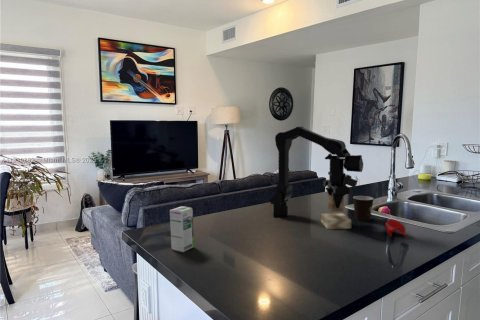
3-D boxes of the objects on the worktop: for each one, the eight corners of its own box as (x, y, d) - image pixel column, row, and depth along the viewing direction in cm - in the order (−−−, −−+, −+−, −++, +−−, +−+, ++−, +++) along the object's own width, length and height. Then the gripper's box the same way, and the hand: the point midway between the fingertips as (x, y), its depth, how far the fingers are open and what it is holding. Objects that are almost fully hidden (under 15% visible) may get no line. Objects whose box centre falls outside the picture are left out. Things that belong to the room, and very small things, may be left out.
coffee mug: (363, 223, 142) (364, 200, 141) (348, 218, 150) (349, 197, 149) (381, 219, 148) (382, 197, 147) (366, 215, 155) (367, 194, 154)
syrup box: (183, 252, 112) (182, 211, 110) (170, 249, 115) (169, 209, 113) (194, 247, 117) (193, 207, 115) (181, 244, 120) (180, 205, 118)
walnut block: (331, 211, 137) (331, 197, 137) (328, 208, 142) (328, 194, 142) (343, 211, 138) (343, 197, 137) (339, 208, 142) (339, 194, 142)
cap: (382, 228, 125) (397, 222, 122) (382, 219, 130) (396, 213, 127) (394, 243, 126) (409, 238, 123) (393, 234, 131) (408, 228, 128)
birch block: (327, 229, 136) (327, 220, 135) (320, 222, 146) (321, 213, 145) (351, 229, 136) (351, 219, 135) (343, 222, 146) (343, 213, 145)
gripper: (364, 173, 129) (362, 211, 131) (347, 167, 148) (346, 201, 149) (336, 173, 129) (335, 212, 130) (323, 167, 147) (322, 201, 149)
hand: (335, 206), depth 140 cm, fingers closed on walnut block, 5 cm apart
